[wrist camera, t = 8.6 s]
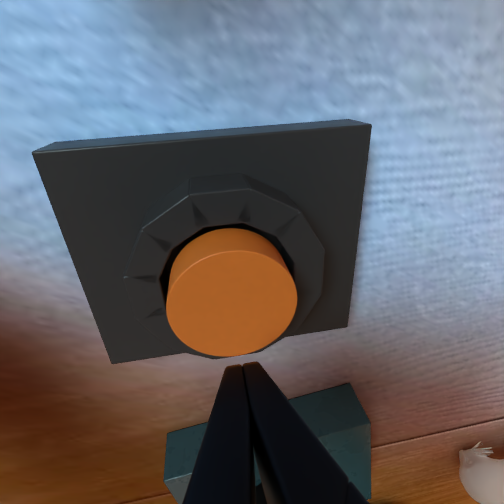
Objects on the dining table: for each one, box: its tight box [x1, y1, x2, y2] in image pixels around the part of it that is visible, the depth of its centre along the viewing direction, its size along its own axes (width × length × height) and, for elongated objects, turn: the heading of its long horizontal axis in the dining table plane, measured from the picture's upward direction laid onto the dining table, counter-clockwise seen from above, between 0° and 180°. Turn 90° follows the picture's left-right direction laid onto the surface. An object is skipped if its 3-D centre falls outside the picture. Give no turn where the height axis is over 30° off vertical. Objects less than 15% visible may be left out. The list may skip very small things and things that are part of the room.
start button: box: [166, 228, 297, 357], centre depth 11 cm, size 4×4×2 cm
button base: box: [32, 119, 372, 364], centre depth 13 cm, size 12×10×4 cm
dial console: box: [164, 383, 371, 504], centre depth 23 cm, size 13×10×3 cm
